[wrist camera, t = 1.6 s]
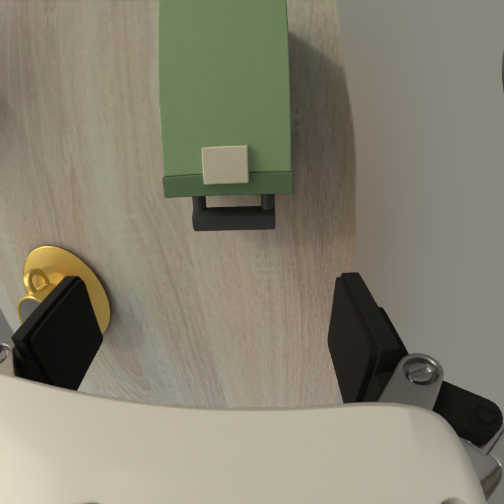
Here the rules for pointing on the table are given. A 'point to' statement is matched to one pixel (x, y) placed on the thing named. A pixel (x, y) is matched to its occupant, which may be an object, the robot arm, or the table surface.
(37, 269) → the cup
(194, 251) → the table surface
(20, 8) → the table surface
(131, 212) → the table surface
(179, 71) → the lunchbox
